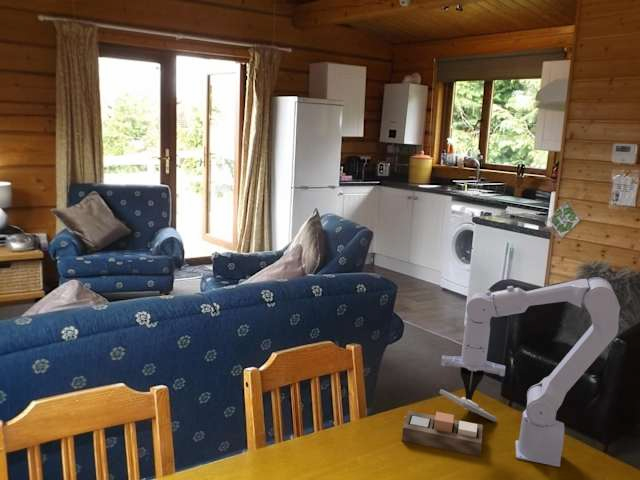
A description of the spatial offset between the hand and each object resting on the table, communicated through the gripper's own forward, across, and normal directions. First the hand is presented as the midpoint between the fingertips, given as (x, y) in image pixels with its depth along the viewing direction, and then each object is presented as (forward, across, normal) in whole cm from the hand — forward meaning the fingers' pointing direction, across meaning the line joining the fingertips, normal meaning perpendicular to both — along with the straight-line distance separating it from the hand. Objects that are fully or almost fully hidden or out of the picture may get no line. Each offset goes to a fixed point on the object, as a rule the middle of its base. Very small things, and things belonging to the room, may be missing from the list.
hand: (468, 398), depth 144 cm
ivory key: (+9, +1, -3) cm, 9 cm away
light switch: (+11, 0, +10) cm, 15 cm away
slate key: (+10, -11, -3) cm, 15 cm away
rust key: (+8, -5, -3) cm, 10 cm away
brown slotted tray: (+10, -5, -3) cm, 12 cm away
